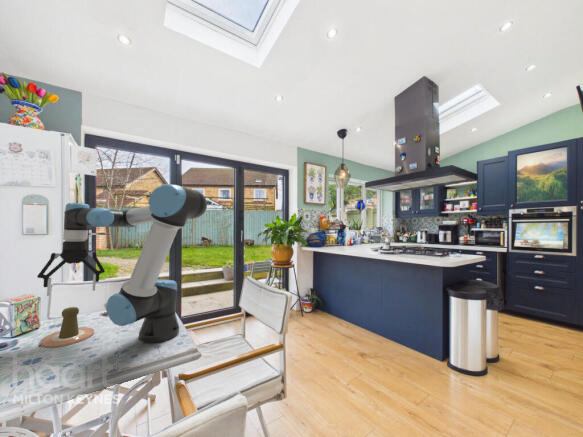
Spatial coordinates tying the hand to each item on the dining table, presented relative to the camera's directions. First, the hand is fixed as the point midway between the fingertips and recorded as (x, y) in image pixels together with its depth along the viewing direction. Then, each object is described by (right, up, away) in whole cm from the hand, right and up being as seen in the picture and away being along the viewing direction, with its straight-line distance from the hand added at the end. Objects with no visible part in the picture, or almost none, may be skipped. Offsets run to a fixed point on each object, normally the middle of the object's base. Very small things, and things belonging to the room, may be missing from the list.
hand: (72, 292), depth 97 cm
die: (-3, -20, +28) cm, 34 cm away
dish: (-1, -18, -1) cm, 18 cm away
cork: (-1, -17, -1) cm, 17 cm away
